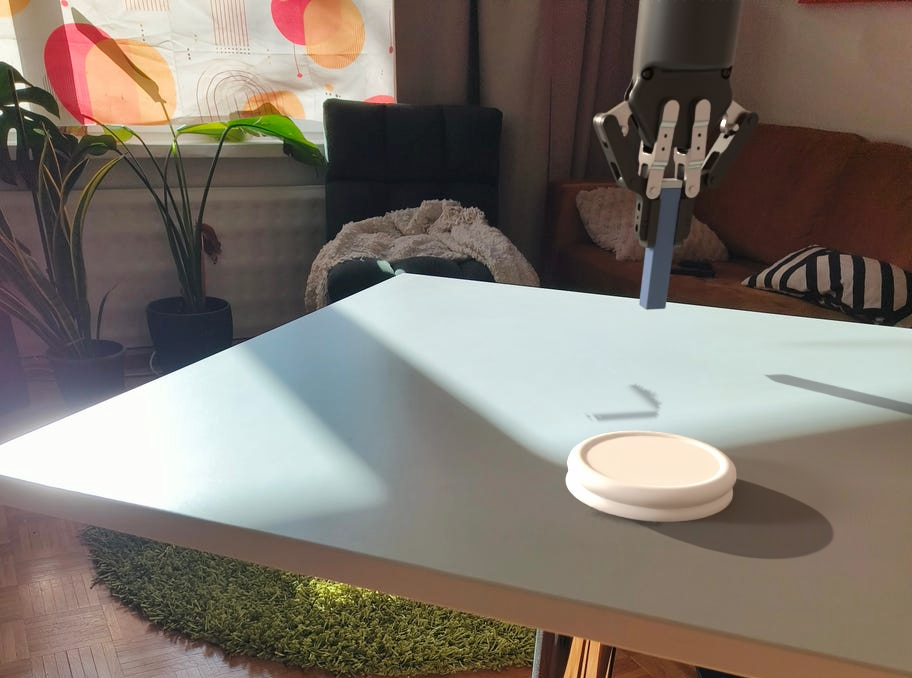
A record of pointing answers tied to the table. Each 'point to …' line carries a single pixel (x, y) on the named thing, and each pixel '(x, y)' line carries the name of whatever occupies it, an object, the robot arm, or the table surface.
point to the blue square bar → (661, 249)
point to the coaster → (651, 476)
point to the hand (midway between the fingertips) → (660, 245)
